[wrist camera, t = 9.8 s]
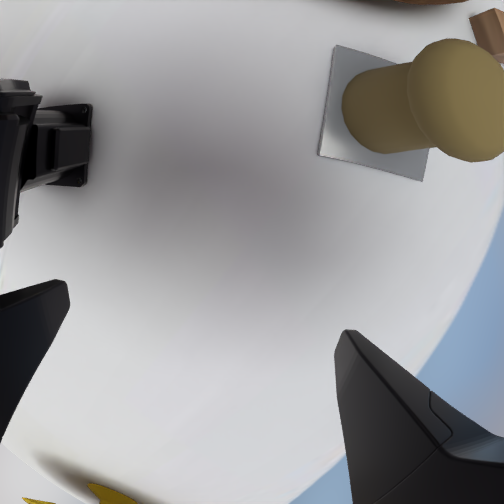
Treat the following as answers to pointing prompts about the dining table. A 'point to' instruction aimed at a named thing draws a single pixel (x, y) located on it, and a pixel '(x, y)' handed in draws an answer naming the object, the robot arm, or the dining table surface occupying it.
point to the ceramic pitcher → (431, 1)
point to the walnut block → (490, 32)
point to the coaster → (337, 134)
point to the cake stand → (109, 499)
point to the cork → (431, 103)
